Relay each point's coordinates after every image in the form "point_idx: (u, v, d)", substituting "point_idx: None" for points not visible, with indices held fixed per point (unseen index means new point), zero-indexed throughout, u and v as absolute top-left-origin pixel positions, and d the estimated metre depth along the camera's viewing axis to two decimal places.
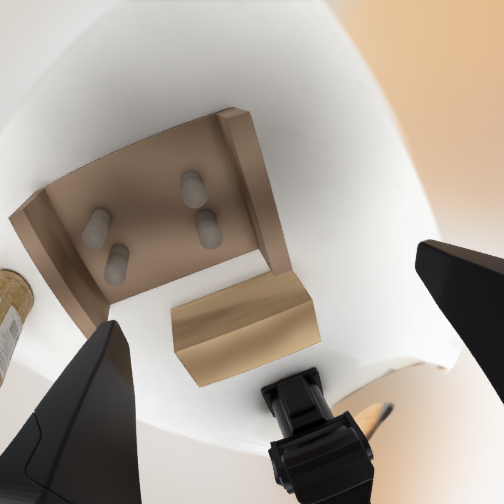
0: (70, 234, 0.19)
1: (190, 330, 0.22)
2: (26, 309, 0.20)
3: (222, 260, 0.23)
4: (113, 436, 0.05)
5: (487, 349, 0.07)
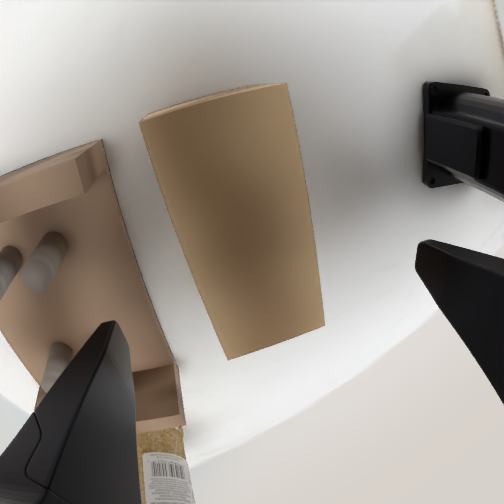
0: None
1: None
2: (162, 435, 0.20)
3: (118, 225, 0.14)
4: (113, 436, 0.05)
5: (487, 349, 0.07)
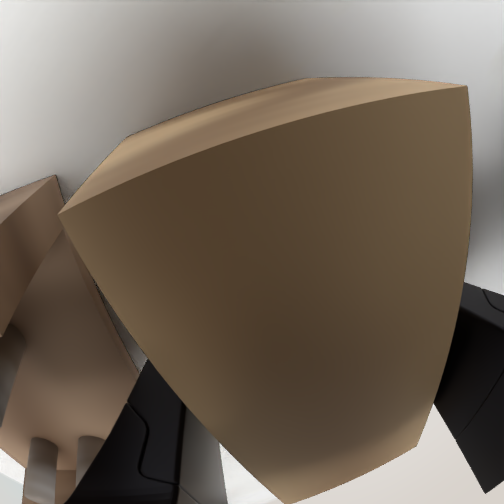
0: (74, 468, 0.12)
1: None
2: None
3: (97, 318, 0.08)
4: None
5: None
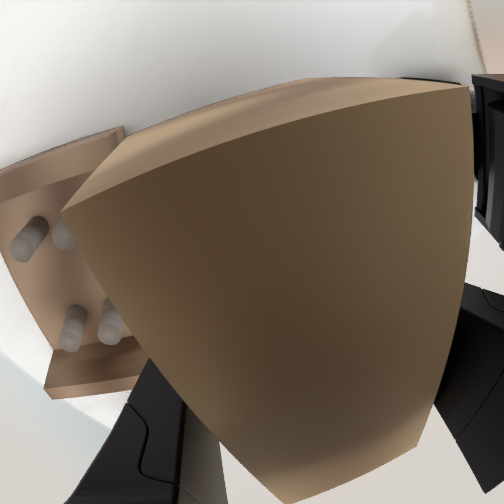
0: (94, 341, 0.20)
1: None
2: None
3: None
4: None
5: None
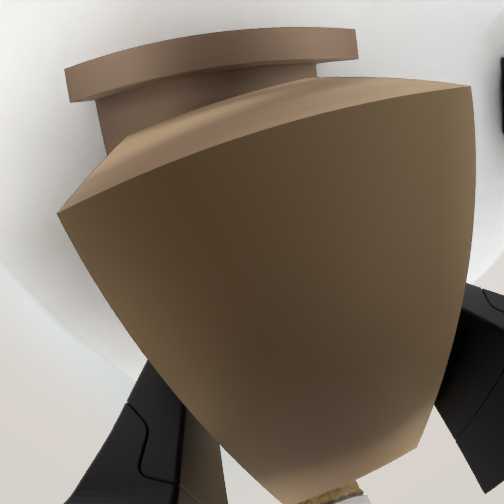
0: None
1: None
2: None
3: None
4: None
5: None
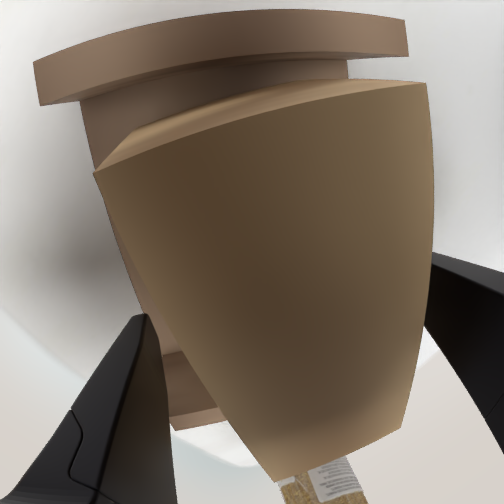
0: None
1: None
2: None
3: None
4: (152, 431, 0.05)
5: (467, 362, 0.07)
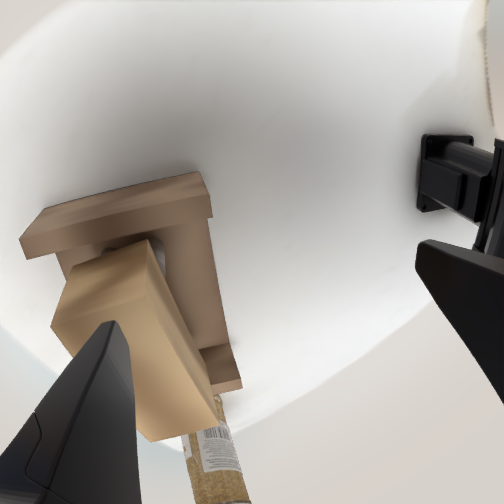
0: None
1: None
2: None
3: (207, 235, 0.20)
4: (113, 436, 0.05)
5: (487, 349, 0.07)
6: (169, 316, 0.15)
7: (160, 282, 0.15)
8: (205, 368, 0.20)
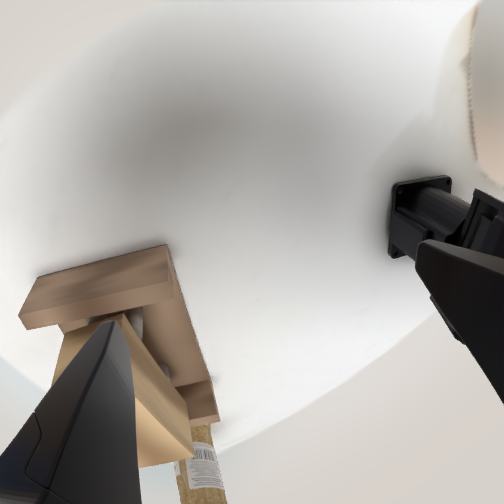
0: None
1: None
2: (197, 430, 0.28)
3: (180, 298, 0.22)
4: (113, 436, 0.05)
5: (487, 349, 0.07)
6: (144, 378, 0.17)
7: (136, 349, 0.18)
8: (185, 407, 0.22)
